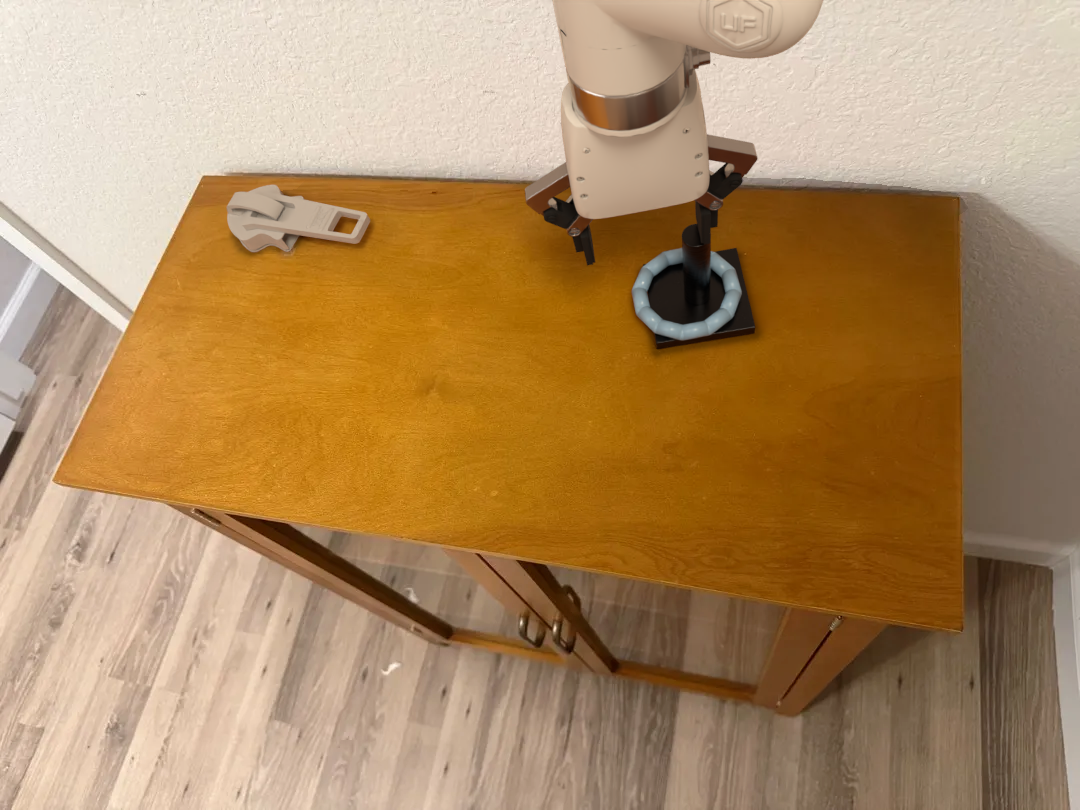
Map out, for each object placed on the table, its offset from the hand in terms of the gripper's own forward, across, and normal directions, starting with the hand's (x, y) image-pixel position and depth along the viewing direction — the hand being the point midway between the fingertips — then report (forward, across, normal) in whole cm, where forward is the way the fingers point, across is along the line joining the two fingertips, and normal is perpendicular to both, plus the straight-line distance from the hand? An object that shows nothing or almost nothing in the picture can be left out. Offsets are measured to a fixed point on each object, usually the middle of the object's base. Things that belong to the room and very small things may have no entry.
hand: (645, 240), depth 64 cm
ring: (+9, -3, 0) cm, 9 cm away
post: (+11, -4, 0) cm, 11 cm away
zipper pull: (+11, +37, -18) cm, 42 cm away
